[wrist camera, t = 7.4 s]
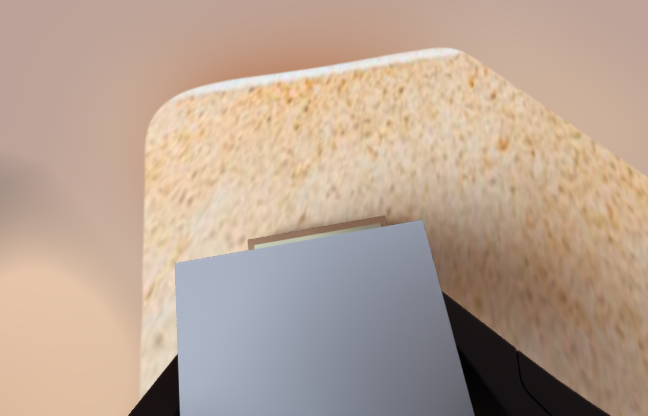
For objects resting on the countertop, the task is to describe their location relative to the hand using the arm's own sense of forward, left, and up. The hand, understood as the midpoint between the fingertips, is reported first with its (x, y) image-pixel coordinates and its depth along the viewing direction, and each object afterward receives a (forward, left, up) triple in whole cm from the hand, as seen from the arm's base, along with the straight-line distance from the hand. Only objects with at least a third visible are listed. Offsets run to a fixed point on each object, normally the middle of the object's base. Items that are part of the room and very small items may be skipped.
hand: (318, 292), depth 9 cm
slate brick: (-1, 0, -7) cm, 7 cm away
